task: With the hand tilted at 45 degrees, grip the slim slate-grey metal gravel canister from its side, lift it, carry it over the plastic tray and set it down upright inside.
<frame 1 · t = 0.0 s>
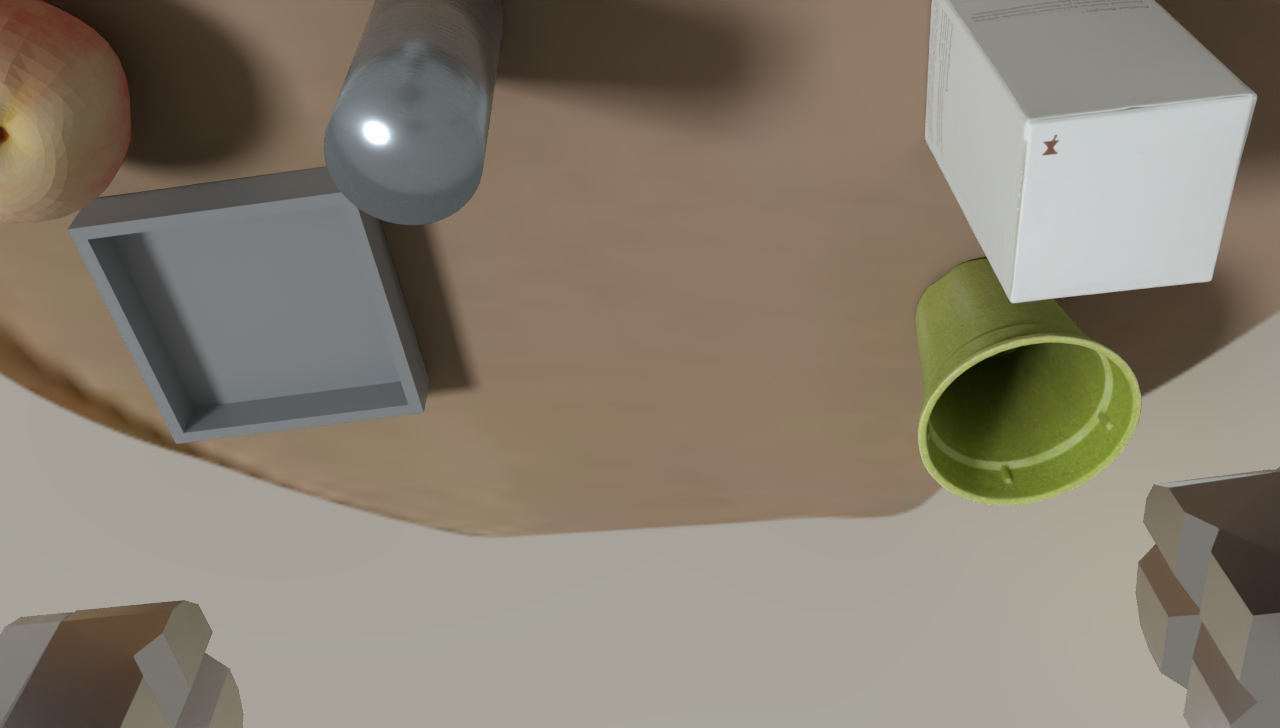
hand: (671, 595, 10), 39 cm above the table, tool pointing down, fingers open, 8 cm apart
canister: (440, 14, 47), on the table
tray: (269, 295, 54), on the table
fruit: (58, 63, 47), on the table
plant pot: (974, 306, 57), on the table
supplement box: (1012, 50, 49), on the table
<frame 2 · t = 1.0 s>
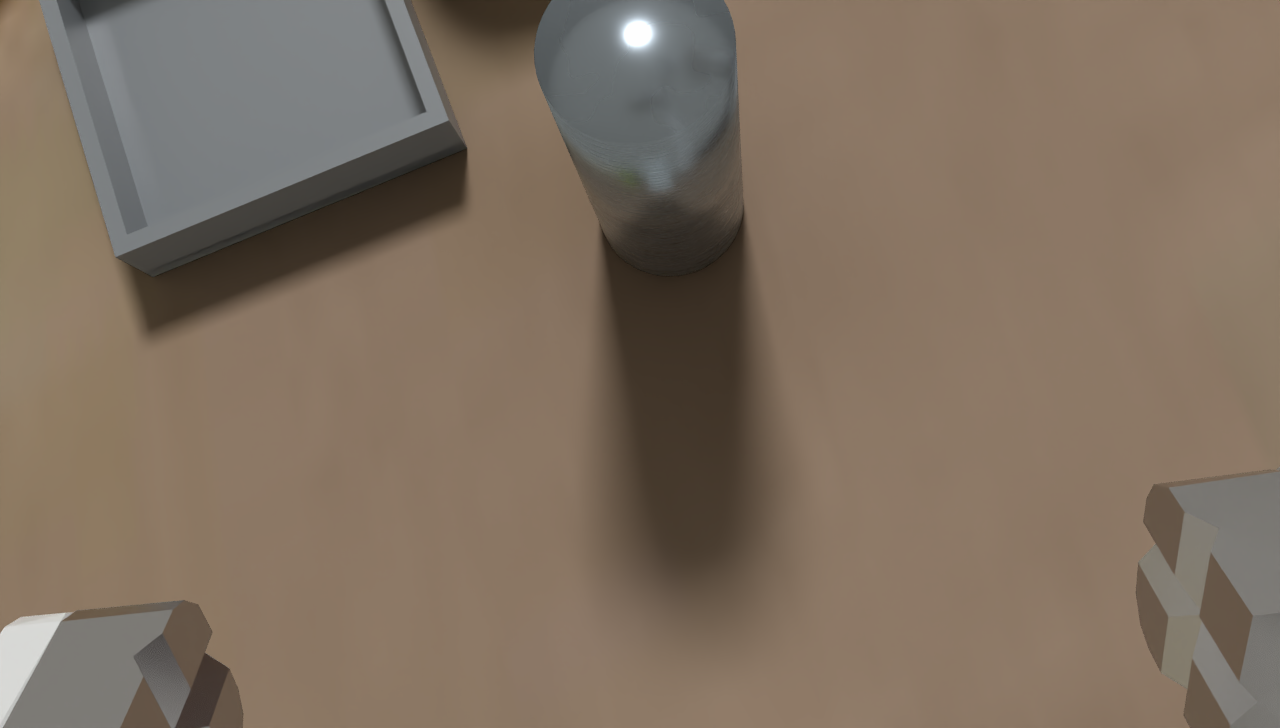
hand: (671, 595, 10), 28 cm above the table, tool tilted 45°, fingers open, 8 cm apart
canister: (671, 206, 41), on the table
tray: (260, 67, 43), on the table
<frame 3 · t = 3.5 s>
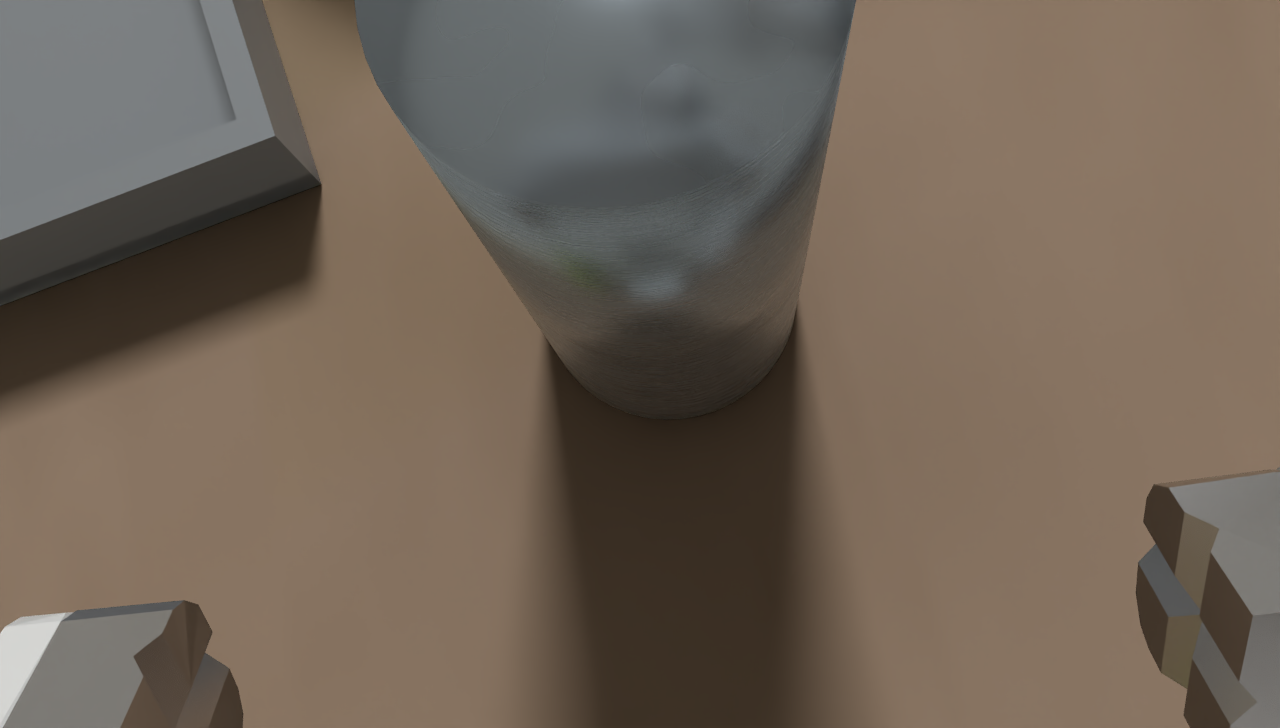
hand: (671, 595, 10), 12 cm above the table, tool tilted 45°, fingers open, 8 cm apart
canister: (669, 295, 23), on the table
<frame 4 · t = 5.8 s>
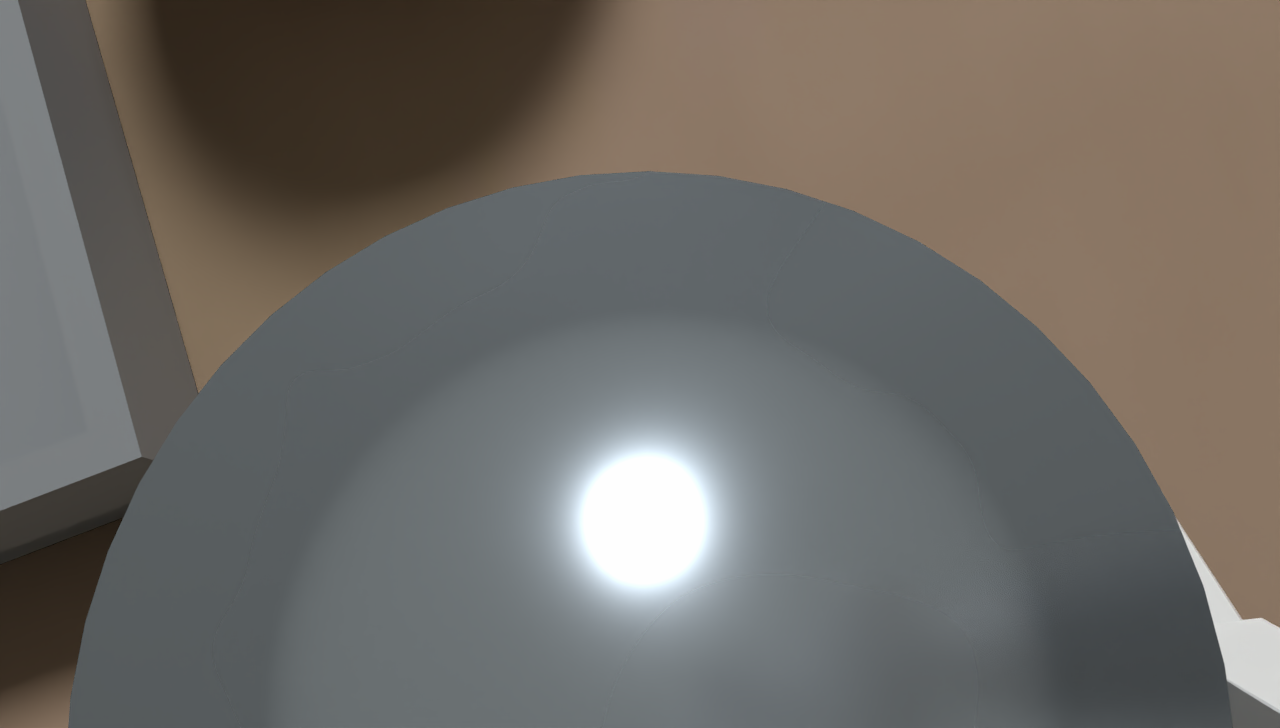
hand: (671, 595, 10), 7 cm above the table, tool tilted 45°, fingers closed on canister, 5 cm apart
canister: (701, 651, 17), on the table, touching gripper
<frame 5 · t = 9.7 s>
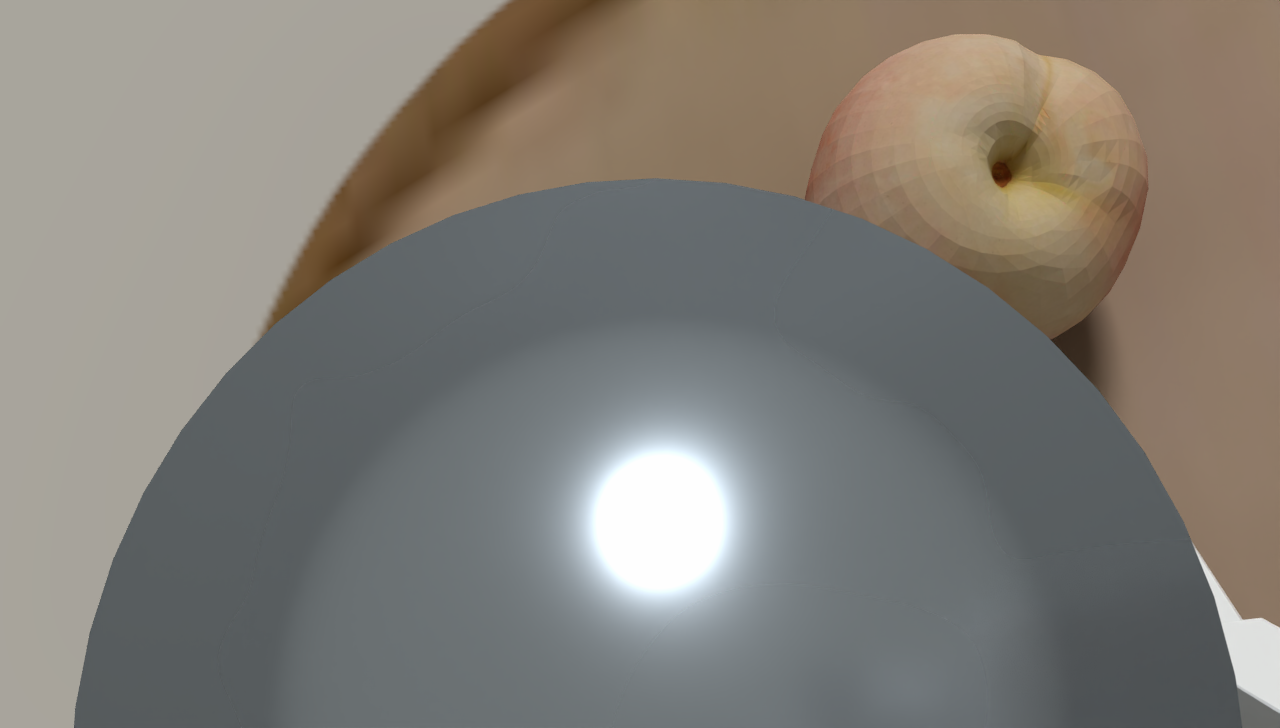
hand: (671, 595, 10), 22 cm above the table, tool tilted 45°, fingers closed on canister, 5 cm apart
canister: (704, 654, 17), point 15 cm above the table, touching gripper
fruit: (943, 251, 33), on the table
when the fingers open (9 cm above the table, at t = 13.6 s): canister drops 1 cm, resting on tray.
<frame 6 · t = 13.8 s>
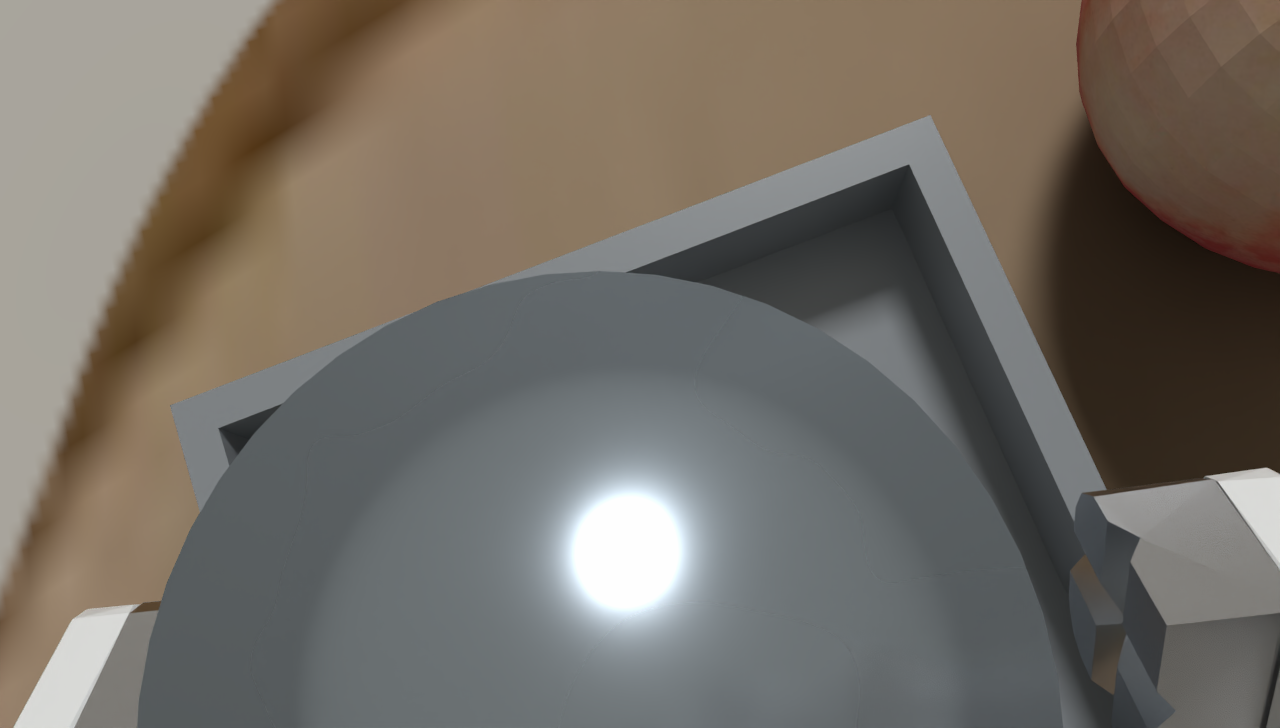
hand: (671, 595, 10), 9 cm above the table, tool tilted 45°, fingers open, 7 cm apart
canister: (705, 651, 18), point 1 cm above the table, touching tray
tray: (701, 648, 19), on the table
fruit: (1261, 122, 20), on the table
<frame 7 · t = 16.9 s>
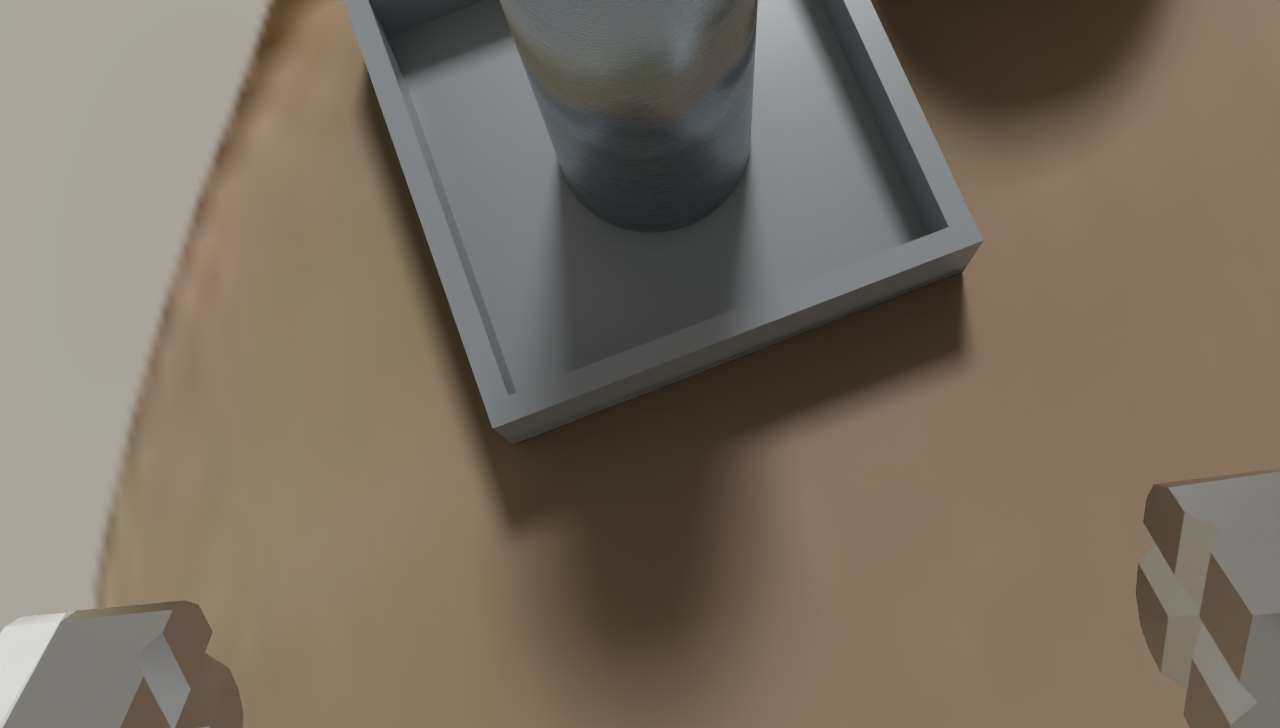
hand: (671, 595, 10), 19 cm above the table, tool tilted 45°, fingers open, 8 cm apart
canister: (653, 140, 30), point 1 cm above the table, touching tray
tray: (652, 148, 31), on the table
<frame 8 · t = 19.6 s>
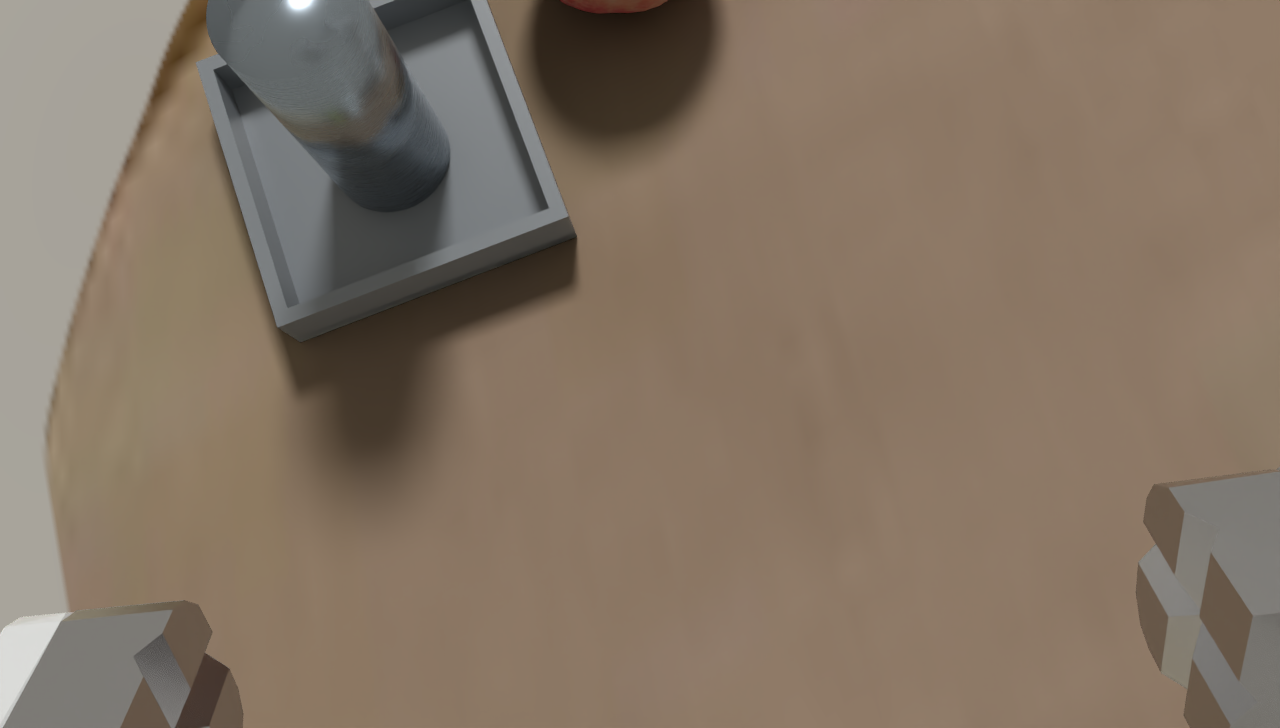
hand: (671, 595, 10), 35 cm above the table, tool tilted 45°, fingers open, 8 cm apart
canister: (391, 155, 49), point 1 cm above the table, touching tray
tray: (394, 160, 50), on the table
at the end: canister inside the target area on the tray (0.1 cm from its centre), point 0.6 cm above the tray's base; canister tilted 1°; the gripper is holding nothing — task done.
